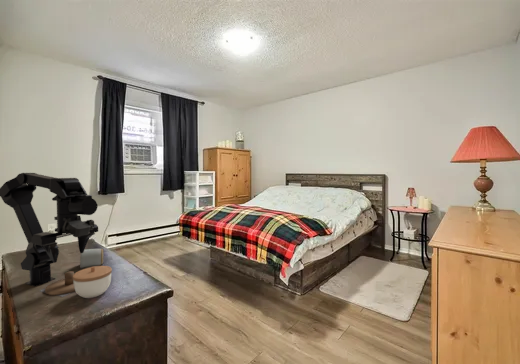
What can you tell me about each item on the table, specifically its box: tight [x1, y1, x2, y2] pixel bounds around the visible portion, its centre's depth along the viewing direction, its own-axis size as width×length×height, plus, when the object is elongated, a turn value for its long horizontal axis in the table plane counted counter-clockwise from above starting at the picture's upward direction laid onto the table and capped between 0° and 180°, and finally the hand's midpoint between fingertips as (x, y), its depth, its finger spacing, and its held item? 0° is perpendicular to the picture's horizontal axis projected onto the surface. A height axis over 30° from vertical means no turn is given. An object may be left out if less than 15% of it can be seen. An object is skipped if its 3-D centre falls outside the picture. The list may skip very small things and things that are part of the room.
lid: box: [44, 270, 76, 296], centre depth 86 cm, size 13×13×5 cm
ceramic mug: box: [79, 248, 104, 269], centre depth 107 cm, size 11×8×8 cm
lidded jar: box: [73, 265, 113, 299], centre depth 81 cm, size 11×11×9 cm
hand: (68, 257), depth 86 cm, fingers open, 9 cm apart
